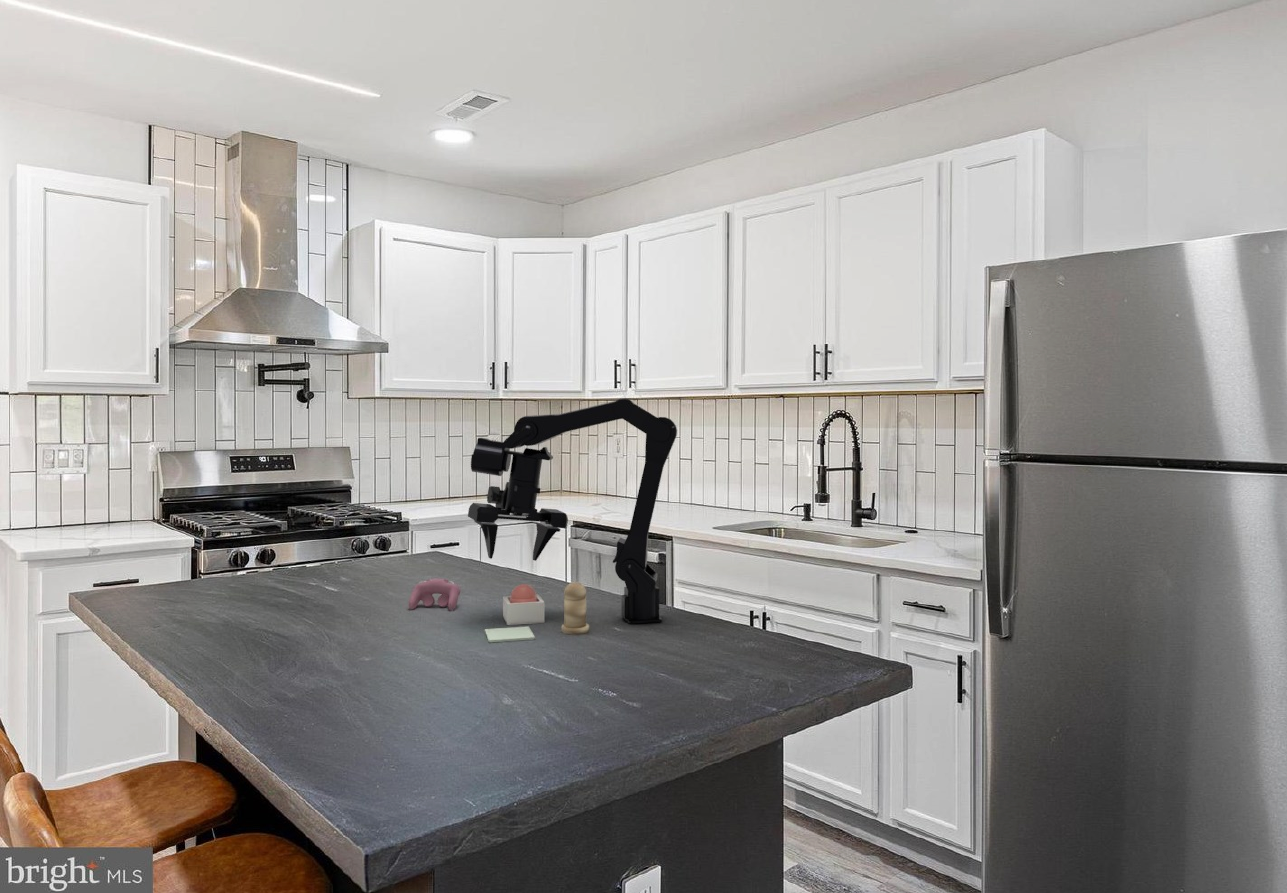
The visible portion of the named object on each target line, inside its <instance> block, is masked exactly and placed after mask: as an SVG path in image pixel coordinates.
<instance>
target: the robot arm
mask: <svg viewBox="0 0 1287 893" xmlns="http://www.w3.org/2000/svg"><path fill="white" fill-rule="evenodd" d="M617 420H623V421H625V422H627V423H628V424H630V425H631V426H633V427H635V428H636V429H638V430H639V431H640V432H642V433H645V445H644V446H645V450H644V451H645V453H644V455H645V456H644V459H645V460H644V467H643V469H642V475H641V479H640V483H639V484H640V485H639V487H638V492H637V495H636V497H637V498H636V500H635V506H634V509H633V514H632V519H631V524H630V527H629V531H628V534H627V536H626V538H622V537H619V539H618V540H617V542H616V552H615V553H616V554H615V556H614V559H613V560H612V564H614V569H615V573H616V575H617V577H618V578H619V579H620V580H621V581H623V582H624V584H625V586H624V587H623V594H622V595H621V596H620V597H621V600H620V601H621V604H620V605H621V608H620V609H621V617H622V619H624V620H625V621H626V622H627V623H628V624H642V623H643V624H644V623H645V624H646V623H658V622H659V623H660V622H663V618H662V617H661V616H660V588H659V587H658V586H657V585H656V583H657V579H658V576H659V575H658V573H657V572H656V570H654V569H653V567H651V566H650V565H649V563H648V553H649V552H648V548H649V532H650V527H651V523H652V519H653V514H654V511H655V507H656V506H655V505H656V501H657V498H658V492H659V488H660V483H661V479H662V475H663V471H664V466H665V464H666V462H667V459H668V457H669V455H670V453H671V450H672V448H673V446H674V443H675V441H676V439H677V435H678V427H677V425H676V423H675V422H674V421H673V420H672V419H671V418H668V417H666V416H665V417H664V416H659V417H657V416H655V415H654V414H652V413H650V412H649V411H647V410H646V409H644V408H642V407H641V406H640V405H637V404H636V403H634V402H633V400H632V399H630V398H626V397H621V398H618V399H616V400H614V401H610V402H604V403H601V404H597V405H592V406H589V407H584V408H580V409H577V410H572V411H569V412H564V413H557V414H555V413H554V414H539V415H537V414H536V415H534V414H533V415H525V416H522V417H520V418H519V419H518V420H516V423H515V424H514V429H513V432H512V433H511V434H510V435H509V436H508V437H507V438H505V439H504V441H497V440H492V439H489V438H486V437H485V438H484V437H478V438H477V440H476V445H475V447H474V449H473V453H472V454H471V457H470V470H471V472H473V473H478V474H485V475H491V476H498V477H501V476H502V475H503V474H504V472H506V473H508V472H509V480H508V481H506V483H505V485H504V486H505V487H504V490H502V489H501V488H500V486H492V485H491V486H488V489H487V496H486V500H487V501H486V502H487V503H480V502H472V503H470V504H471V505H470V506H469V508H468V510H467V511H468V514H467V517H468V518H470V519H471V520H473V521H474V523H476V524H478V525H479V526H480V527H481V531H482V533H483V537H484V541H485V542H484V543H485V546H486V552H487V556H488V558H489V559H493V558H494V557H493V556H494V553H495V547H496V542H497V535H498V529H499V528H498V527H499V525H498V524H496V523H495V522H496V521H497V520H499V519H500V520H512V521H513V520H514V521H515V520H516V521H526V522H536V523H535V525H536V526H535V527H536V535H535V542H534V545H533V549H532V560H533V561H536V562H537V560H538V559H539V557H540V556H541V554H542V552H543V550H544V549H545V548H546V546H547V545H548V543H549V541H550V540H551V539H552V538H553V537H554V535H555V534H556V533H557V532H561V528H564V529H566V528H567V527H568V524H569V519H568V515H567V513H565V512H563V511H561V510H559V509H555V508H543V507H542V508H541V509H540V510H539V511H538V508H536V505H537V504H536V502H537V499H538V498H537V497H538V494H540V493H541V488H540V487H539V484H540V479H541V478H540V477H541V470H542V463H543V461H552V460H553V459H554V456H553V455H552V454H551V453H550V451H549V450H548V447H547V446H545V447H544V446H543V447H542V448H541V449H535V448H529V447H528V446H530V447H531V446H537V445H540V444H543V443H545V442H547V441H550V440H552V439H555V438H557V437H558V436H561V435H563V434H565V433H567V432H572V431H576V430H581V429H584V428H588V427H592V426H593V427H594V426H596V425H601V424H604V423H609V422H614V421H617ZM523 446H527V447H525V448H524V450H523V452H521V451H516V450H514V451H513V450H512V449H518V448H521V447H523ZM510 449H511V450H510ZM510 465H511V466H510ZM509 469H510V471H509ZM492 504H493V505H492ZM494 505H495V506H494Z"/></svg>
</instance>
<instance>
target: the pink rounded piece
mask: <svg viewBox="0 0 1287 893" xmlns="http://www.w3.org/2000/svg"><path fill="white" fill-rule="evenodd" d="M536 595H537V594H536V591H535V589H534V587H532V586H531V585H529V584H526V583H525V584H524V583H523V584H519V585H516V586H515V587H514V588H513V589H512V590H511V594H510V596H511V597H510V603H523V602H536Z"/></svg>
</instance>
